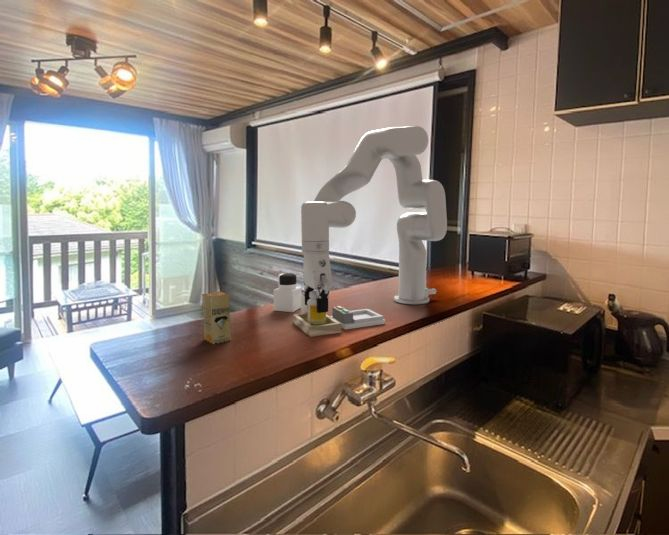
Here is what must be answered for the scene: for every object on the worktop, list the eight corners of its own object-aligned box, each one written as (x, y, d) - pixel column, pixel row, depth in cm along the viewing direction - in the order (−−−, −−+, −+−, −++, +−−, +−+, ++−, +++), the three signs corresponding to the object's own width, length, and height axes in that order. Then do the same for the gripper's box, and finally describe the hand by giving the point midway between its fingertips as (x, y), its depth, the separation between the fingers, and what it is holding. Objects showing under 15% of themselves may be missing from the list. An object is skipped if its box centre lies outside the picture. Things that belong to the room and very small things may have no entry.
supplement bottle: (303, 325, 114) (302, 292, 112) (318, 321, 117) (318, 289, 115) (314, 329, 109) (314, 295, 108) (330, 325, 113) (329, 292, 111)
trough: (293, 322, 118) (293, 314, 117) (321, 319, 122) (321, 311, 121) (310, 336, 105) (310, 327, 105) (341, 332, 109) (341, 323, 109)
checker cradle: (367, 314, 126) (367, 300, 125) (385, 323, 117) (385, 308, 116) (329, 319, 121) (329, 305, 120) (345, 329, 111) (345, 313, 111)
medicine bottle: (302, 307, 136) (301, 272, 134) (293, 312, 129) (292, 276, 127) (283, 305, 138) (282, 271, 136) (273, 310, 132) (272, 274, 130)
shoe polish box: (231, 340, 103) (229, 294, 101) (212, 344, 100) (210, 297, 98) (222, 335, 107) (220, 291, 105) (204, 339, 103) (202, 294, 102)
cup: (318, 312, 129) (318, 291, 128) (326, 318, 123) (326, 295, 122) (297, 315, 126) (297, 293, 125) (305, 320, 120) (305, 297, 119)
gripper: (341, 249, 104) (341, 314, 106) (316, 243, 119) (317, 300, 122) (314, 250, 101) (315, 317, 103) (292, 244, 116) (293, 302, 119)
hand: (316, 308), depth 113 cm, fingers open, 8 cm apart
